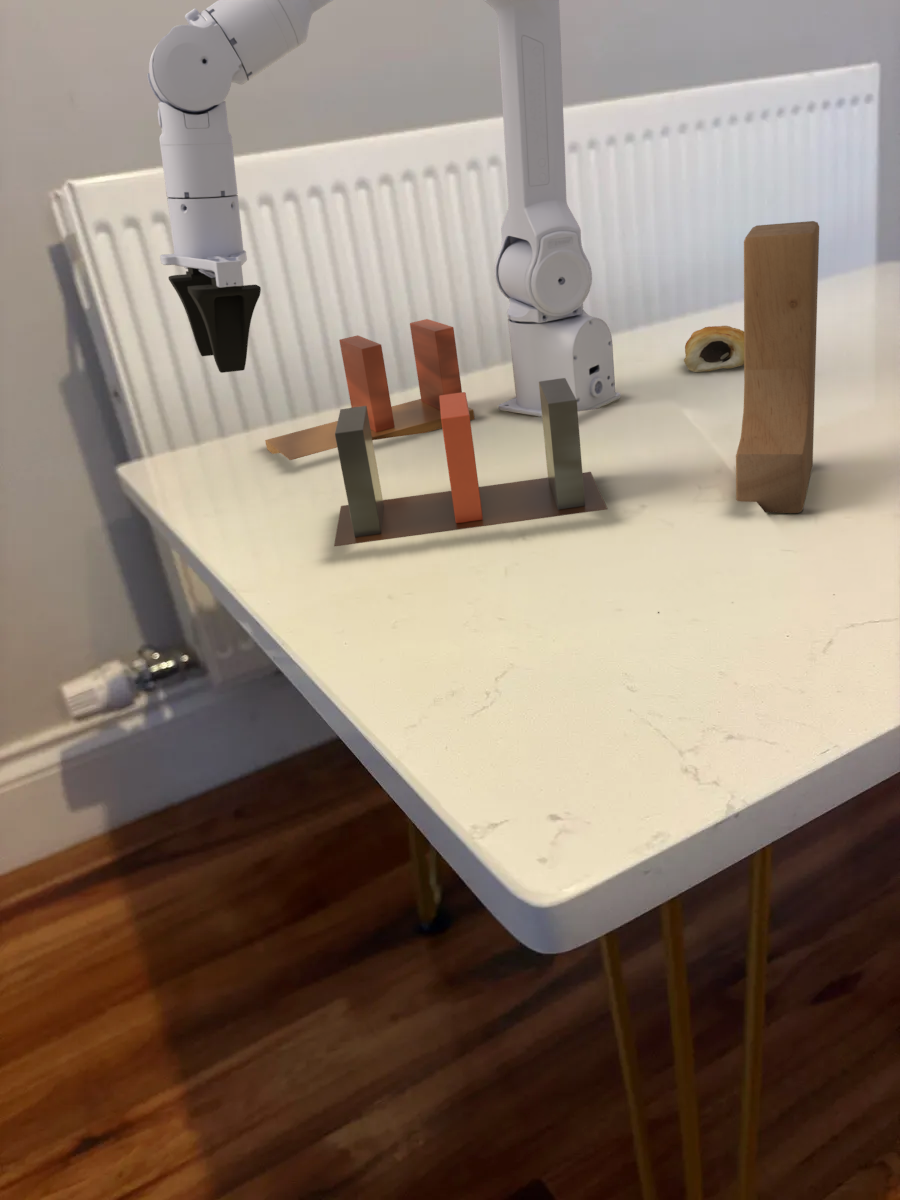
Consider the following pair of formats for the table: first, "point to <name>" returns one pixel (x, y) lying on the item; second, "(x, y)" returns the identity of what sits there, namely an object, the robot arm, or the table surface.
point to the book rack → (387, 390)
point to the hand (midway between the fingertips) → (221, 362)
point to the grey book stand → (498, 502)
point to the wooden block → (778, 365)
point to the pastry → (715, 349)
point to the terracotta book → (460, 457)
